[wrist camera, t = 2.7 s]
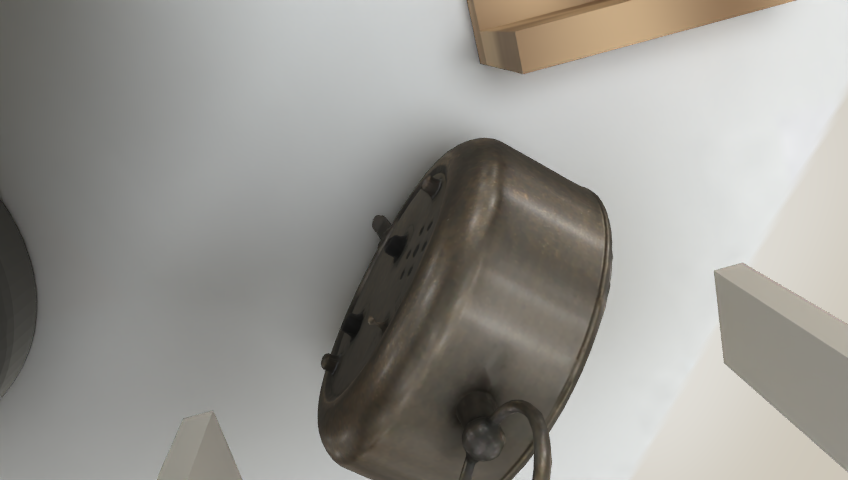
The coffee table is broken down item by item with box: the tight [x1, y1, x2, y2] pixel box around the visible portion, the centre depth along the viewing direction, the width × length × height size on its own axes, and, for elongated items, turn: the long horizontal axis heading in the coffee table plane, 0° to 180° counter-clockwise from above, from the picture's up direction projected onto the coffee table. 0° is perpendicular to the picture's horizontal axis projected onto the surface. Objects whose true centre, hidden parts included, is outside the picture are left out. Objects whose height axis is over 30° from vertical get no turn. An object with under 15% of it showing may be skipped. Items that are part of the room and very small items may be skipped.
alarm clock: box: [318, 138, 613, 480], centre depth 19 cm, size 11×5×16 cm, turn 151°
